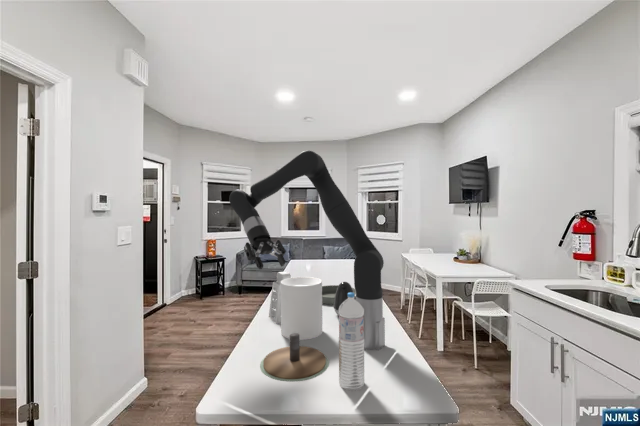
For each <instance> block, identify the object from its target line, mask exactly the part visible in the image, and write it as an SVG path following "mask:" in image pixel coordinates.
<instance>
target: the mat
mask: <svg viewBox="0 0 640 426" xmlns="http://www.w3.org/2000/svg"><path fill="white" fill-rule="evenodd" d="M325 358H326V365H325V367H324V368H323V370H322V371H320V372H319V373H317V374H315V375H313V376H310V377H307V378H302V379H281V378H277V377H274V376H272V375H270V374H268V373H267V372H266V371H265V369H264V367H263V361H264V358H263V359H262V360H261V361H260V364H259V368H260V371H261V373H262V374H263V375H265V377H269V378H270V379H272V380H276V381H280V382H289V383H290V382H303V381H307V380H311V379H314V378H316V377H319V376H320V375H322V374H323V373H325V371H327V369H328V367H329V365H330V361H329V358H328V357H327V356H326V355H325Z"/></svg>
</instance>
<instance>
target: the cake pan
mask: <svg viewBox="0 0 640 426" xmlns="http://www.w3.org/2000/svg"><path fill="white" fill-rule="evenodd" d="M338 286H339V285H337V284H333V285H331V284H329V285H322V304H324V305H325V304H326V305H334V299H335V294H336V291H337V288H338ZM352 289H353V292H354V294H355V295H356V290H355V287H352Z"/></svg>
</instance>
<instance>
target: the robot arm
mask: <svg viewBox="0 0 640 426" xmlns="http://www.w3.org/2000/svg"><path fill="white" fill-rule="evenodd" d="M301 177H307V178H308V179H309V180H310V182H311V183H312V185H313V187H314V188H315V190H316V191H317V194H318V197H319V200H320V204H321V206H322V209H323V211H324V214H325V215H326V217H327V218H328V220H329V222H330V223H331V225H332V226H333V228H334V229H335V231H336V232H337V233H338V234H340V236H341V238H343V239H344V240H345V241H346V242H347V243H348V244H349V247H350V248H351V249H352V251H353V254H354V256H355V259H354V263H353V280H354V281H353V284H354V289H355V290H356V294H355V299H356V300H357V301H358V302H359V303H360V304H361V305H362V307H363V308H364V315H363V317H364V350H370V351H375V350H376V351H380V350H381V349H382V348H383V347H384V346H385V345H386V342H385V341H386V337H385V336H386V325H385V323H386V321H385V317H384V316H383V315H384V310H383V308H384V306H383V303H384V302H383V301H384V299H383V298H384V297H383V296H384V294H383V293H384V292H383V288H382V270H383V267H384V263H385V262H384V259H383V255H382V254H381V252H380V251H379V250H378V249H377V247H376V246H375V245H374V243H373V242H372V240H370V238H369V236H368V235H367V234H366V231H365V229H364V227H363V226H362V224H361V222H360V220H359V219H358V217H357V215H356V213H355V212H354V209H353V208H352V206H351V205H350V203H349V201H348V199H346V197H345V196H344V194H343V192H342V191H341V189H340V188H339V187H338V185H337V184H336V183H335V181H334V179H333V177H332V176H331V173H330V172H329V169H328V167H327V165H326V162H325V161H324V159H323V157H322V156H320V155H319V154H318V153H316V152H315V151H314V150H313V151H312V150H304V151H301V152H299V154H297V155H296V156H295V157H294V158H292V159H291V160H290V161H289V162H287V163H286V164H284V165H283V166H282V167H281V168H279V169H277V170H276V171H275V172H274V171H273V173H271V174H270V175H268V176H266V177H264V178H263V179H260V180H259V181H257V182H255V183H253V184H252V185H251V187H250V194H249V193H247V192H245V191H244V190H242V189H234V190H233V191H231V192H230V195H229V199H228V200H229V204H230V207H231V208H232V209H233V210H234V212H235V213H236V215H237V216H238V217H239V219H240V221H241V224H242V226H243V228H244V232H245V234H246V237H247V239H248V242H245V244H244V247H243V249H244V252H245V255H246V258H247V260H248V261H253V262H254V263H255V266H256V268H258V270H263V268H264V264H263V262H262V261H263V260H262V259H261V257H260V255H261V256H262V255H270V256H274V257H275V258H277V262H278V263H279V266H280V267H284V266H285V264H286V260H285V258H284V256H285V255H286V252H287V251H286V249H285V247H284V246H283V243H282V242H281V240H279V239H277V240H276V241H273V240H272V239H271V235H270V233H269V231H268V229H267V227H266V225H265V223H264V221H263V220H262V217H261V216H260V214H259V213H258V210H257V209H256V207H257V206H258V205H259V204H260V203H261V202H262V201H263V200H265V199H267V198H269V197H271V196H273V195H275V194H276V193H278V191H280V190H281V189H283V188H284V187H285V186H286V185H287V184H288V183H289V182H292V181H294V180H295V179H297V178H301ZM253 251H255V254H254V252H253Z"/></svg>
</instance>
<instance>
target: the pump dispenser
mask: <svg viewBox="0 0 640 426" xmlns="http://www.w3.org/2000/svg"><path fill="white" fill-rule="evenodd" d="M352 288H353V286H352V285H351V284H350V283H349V282H347V281H341V282H340V283H339V286H338V288H337V291H336V294H335V299H334V304H333V309H334V312H335V314H336V315H337V316H338V317H339V313H338V312H339V311H338V310H339V307H340V305H341V304H342V303H343V302H344V301H345V300H346V299H348V293H350V292H352V293H354V292H353V289H352ZM354 299H356V296H355V297H354Z"/></svg>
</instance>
